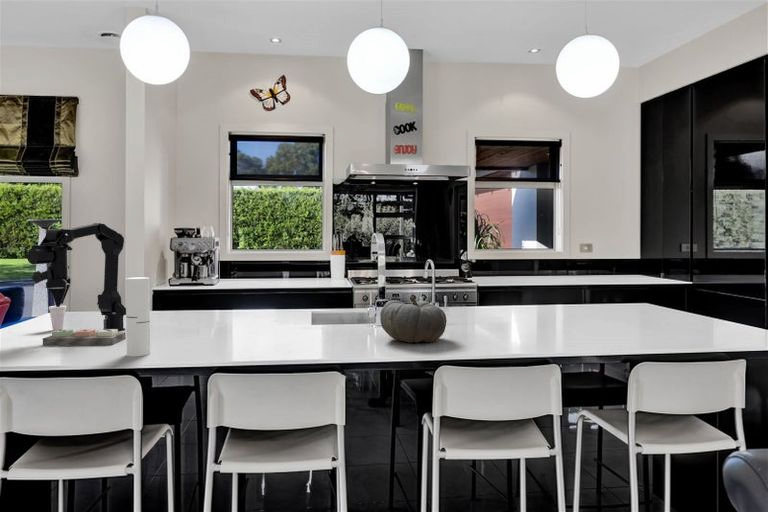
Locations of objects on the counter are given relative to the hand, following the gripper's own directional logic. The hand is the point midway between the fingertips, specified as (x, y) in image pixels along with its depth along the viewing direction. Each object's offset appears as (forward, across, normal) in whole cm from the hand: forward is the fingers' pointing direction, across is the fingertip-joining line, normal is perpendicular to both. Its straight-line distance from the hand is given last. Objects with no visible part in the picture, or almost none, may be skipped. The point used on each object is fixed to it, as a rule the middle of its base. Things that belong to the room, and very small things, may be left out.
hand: (59, 305), depth 212 cm
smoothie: (+14, -28, -4) cm, 31 cm away
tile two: (+13, +4, +1) cm, 14 cm away
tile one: (+13, +7, +9) cm, 17 cm away
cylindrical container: (+13, +37, +26) cm, 48 cm away
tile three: (+13, +9, +16) cm, 23 cm away
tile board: (+13, +7, +9) cm, 17 cm away
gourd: (+14, +49, +121) cm, 131 cm away
